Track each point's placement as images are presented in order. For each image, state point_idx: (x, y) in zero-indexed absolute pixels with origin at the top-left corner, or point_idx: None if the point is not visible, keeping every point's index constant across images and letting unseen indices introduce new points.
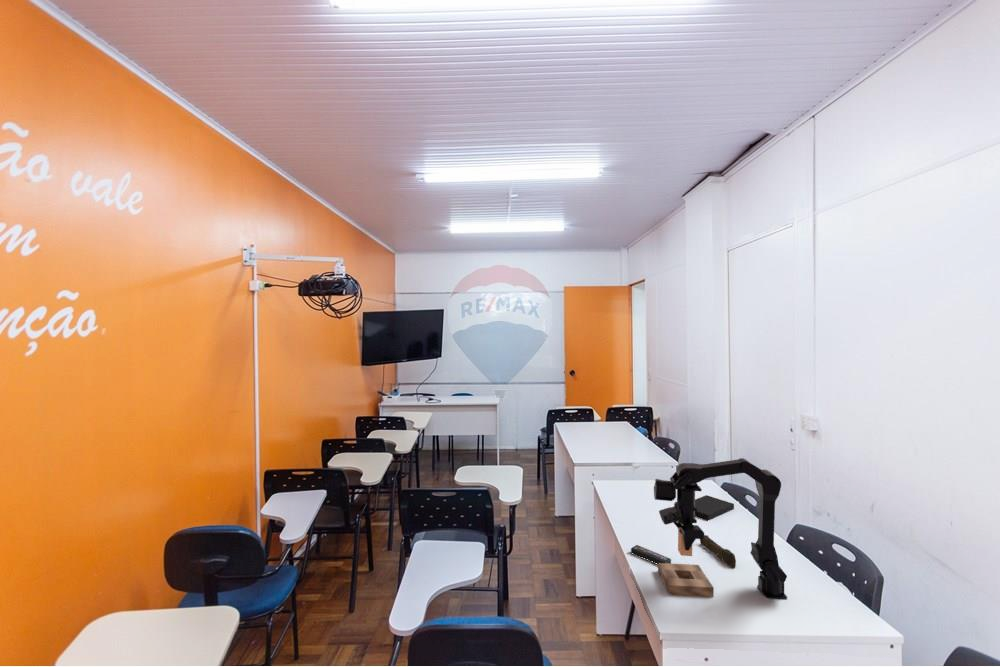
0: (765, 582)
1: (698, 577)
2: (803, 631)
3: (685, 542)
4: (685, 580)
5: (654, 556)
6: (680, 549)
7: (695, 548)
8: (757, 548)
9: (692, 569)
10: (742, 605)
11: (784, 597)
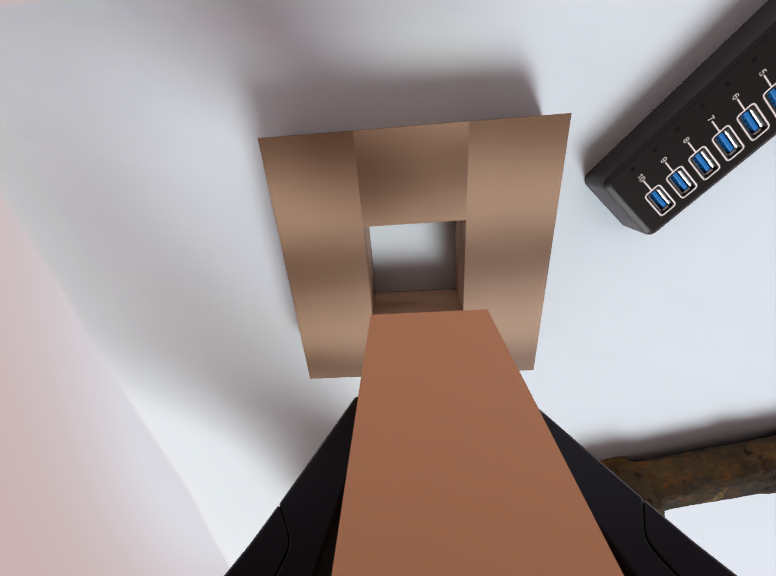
0: None
1: None
2: (205, 515)
3: (283, 503)
4: (345, 261)
5: (710, 114)
6: (395, 344)
7: (766, 389)
8: None
9: None
10: (288, 424)
11: None
